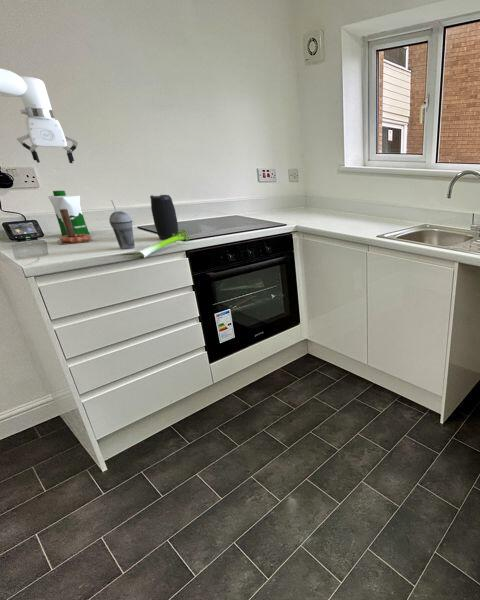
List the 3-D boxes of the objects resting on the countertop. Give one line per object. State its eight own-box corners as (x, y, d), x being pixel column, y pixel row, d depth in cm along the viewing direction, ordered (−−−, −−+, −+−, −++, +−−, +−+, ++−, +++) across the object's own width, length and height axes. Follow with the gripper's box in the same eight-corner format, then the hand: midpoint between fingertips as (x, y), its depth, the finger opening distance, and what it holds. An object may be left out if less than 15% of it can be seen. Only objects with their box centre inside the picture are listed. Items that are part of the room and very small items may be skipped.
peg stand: (61, 247, 143) (49, 211, 138) (58, 243, 149) (47, 208, 143) (89, 244, 149) (79, 209, 144) (86, 240, 155) (76, 207, 149)
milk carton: (77, 233, 169) (64, 190, 161) (93, 234, 167) (81, 190, 160) (58, 236, 161) (43, 191, 153) (75, 237, 159) (61, 192, 152)
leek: (132, 261, 133) (179, 239, 160) (150, 264, 134) (194, 242, 161) (129, 246, 131) (177, 226, 158) (148, 249, 131) (193, 229, 158)
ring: (62, 243, 142) (60, 239, 142) (59, 239, 149) (57, 235, 148) (93, 240, 149) (92, 236, 148) (89, 237, 155) (88, 232, 155)
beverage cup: (142, 250, 143) (130, 199, 136) (122, 253, 137) (108, 201, 130) (133, 247, 147) (121, 198, 139) (113, 250, 141) (99, 199, 133)
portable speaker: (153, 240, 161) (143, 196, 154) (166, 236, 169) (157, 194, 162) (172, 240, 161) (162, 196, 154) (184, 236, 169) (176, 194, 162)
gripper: (7, 111, 125) (24, 162, 131) (71, 116, 137) (84, 163, 143) (7, 112, 130) (24, 162, 136) (69, 118, 142) (82, 163, 148)
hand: (55, 162), depth 140 cm, fingers open, 9 cm apart
